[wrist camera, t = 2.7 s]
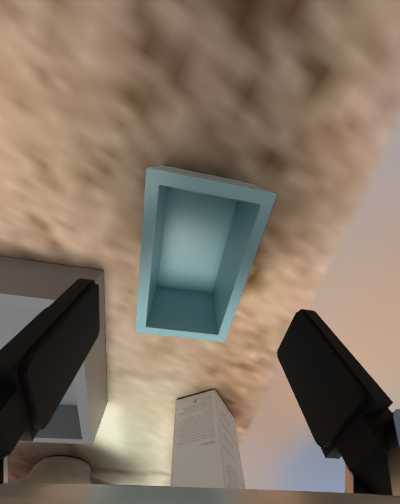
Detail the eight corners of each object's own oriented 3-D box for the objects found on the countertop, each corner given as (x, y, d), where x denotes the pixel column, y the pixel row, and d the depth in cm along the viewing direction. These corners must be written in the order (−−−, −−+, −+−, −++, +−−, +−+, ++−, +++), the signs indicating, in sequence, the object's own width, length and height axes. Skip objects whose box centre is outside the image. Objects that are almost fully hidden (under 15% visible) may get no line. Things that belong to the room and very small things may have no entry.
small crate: (162, 164, 13) (146, 167, 8) (248, 182, 13) (277, 194, 9) (150, 286, 17) (135, 332, 12) (216, 295, 18) (224, 342, 13)
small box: (175, 398, 25) (164, 547, 15) (215, 387, 24) (230, 536, 14) (198, 426, 28) (201, 562, 19) (234, 417, 27) (256, 554, 18)
